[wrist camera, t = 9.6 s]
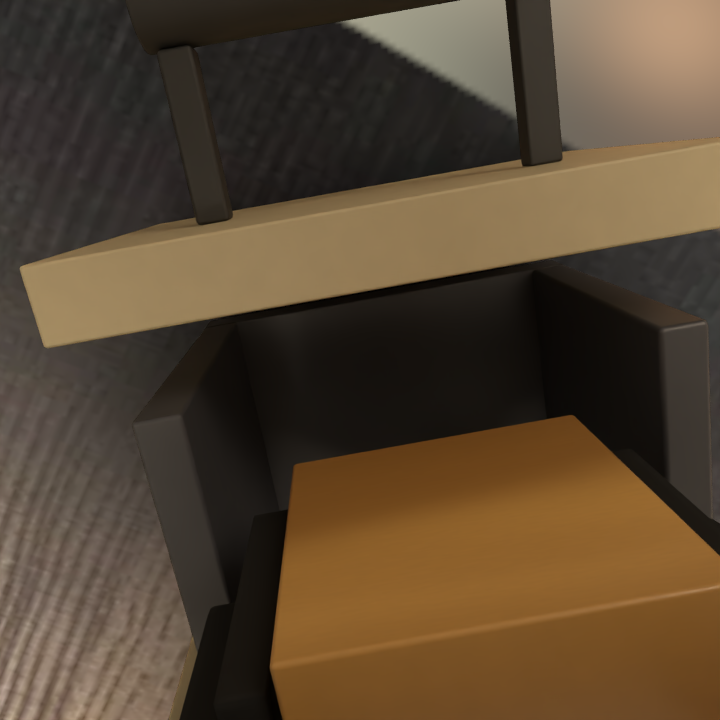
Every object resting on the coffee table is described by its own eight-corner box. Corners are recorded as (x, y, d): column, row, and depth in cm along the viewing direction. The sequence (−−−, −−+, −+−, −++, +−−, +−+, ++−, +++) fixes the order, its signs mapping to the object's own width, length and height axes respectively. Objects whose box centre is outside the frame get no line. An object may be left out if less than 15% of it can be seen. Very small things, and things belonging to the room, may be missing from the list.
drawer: (111, 41, 15) (-96, -87, 8) (555, -39, 16) (776, -243, 8) (262, 637, 20) (224, 918, 13) (603, 576, 20) (770, 819, 13)
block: (292, 463, 10) (267, 665, 6) (573, 412, 10) (749, 580, 6) (343, 694, 11) (351, 1002, 7) (594, 649, 11) (752, 929, 7)
